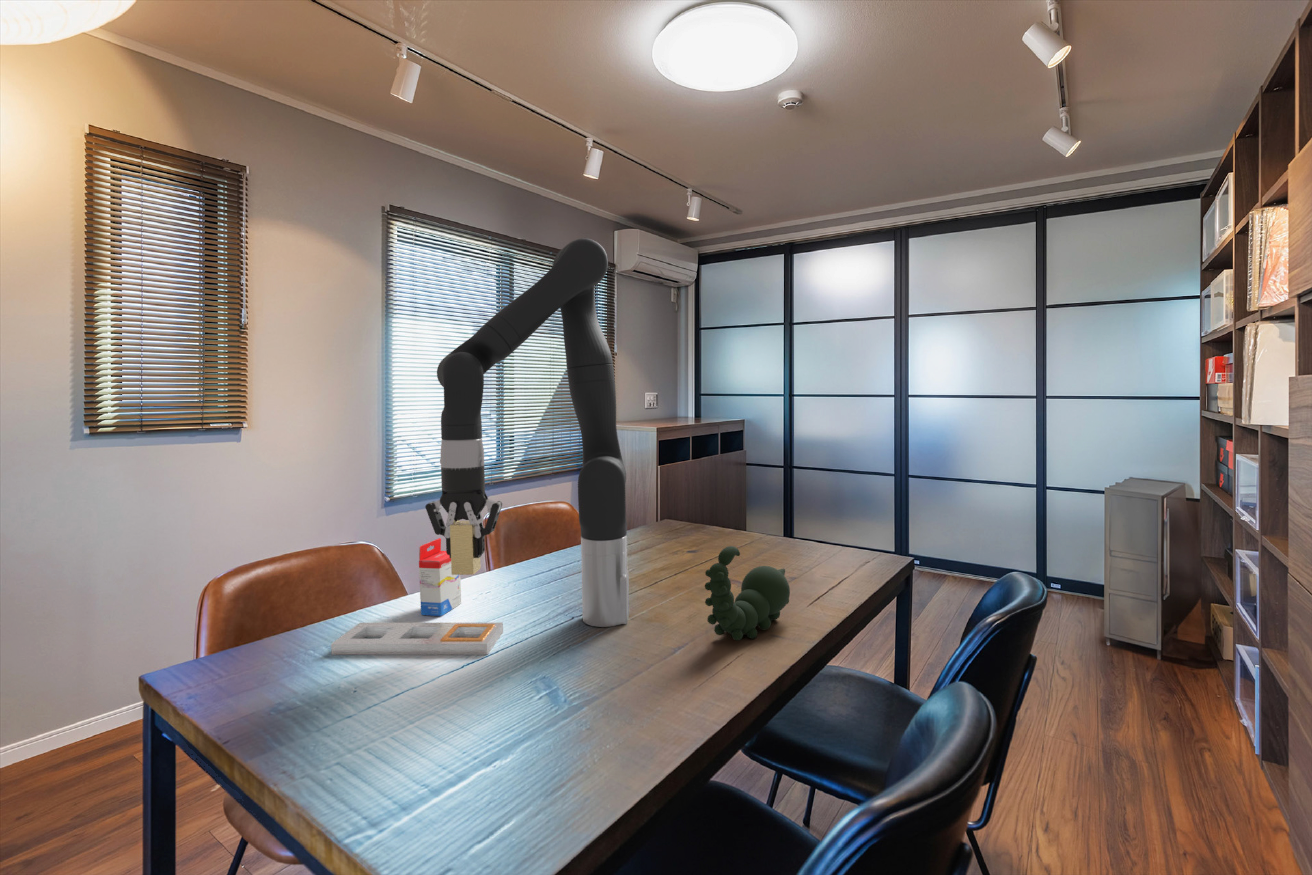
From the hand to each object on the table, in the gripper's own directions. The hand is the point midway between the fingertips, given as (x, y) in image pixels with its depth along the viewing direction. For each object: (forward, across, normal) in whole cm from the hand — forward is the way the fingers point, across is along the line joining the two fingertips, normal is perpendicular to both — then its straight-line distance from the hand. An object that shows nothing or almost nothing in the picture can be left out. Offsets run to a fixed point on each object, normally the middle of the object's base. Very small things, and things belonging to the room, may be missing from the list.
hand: (465, 556), depth 112 cm
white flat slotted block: (+16, +9, 0) cm, 19 cm away
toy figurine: (+16, -53, -7) cm, 56 cm away
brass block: (+3, 0, 0) cm, 3 cm away
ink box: (+17, +12, -18) cm, 27 cm away
